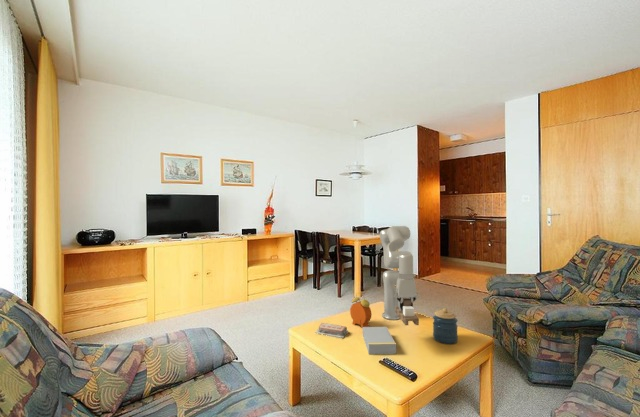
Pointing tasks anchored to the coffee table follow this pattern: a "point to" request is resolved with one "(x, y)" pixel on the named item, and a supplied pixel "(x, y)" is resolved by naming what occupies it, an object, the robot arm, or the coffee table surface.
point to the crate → (408, 311)
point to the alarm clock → (360, 312)
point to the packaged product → (332, 330)
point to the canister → (445, 327)
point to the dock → (379, 340)
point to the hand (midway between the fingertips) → (406, 309)
